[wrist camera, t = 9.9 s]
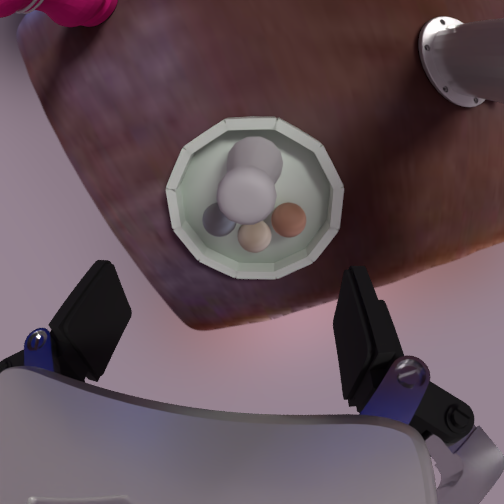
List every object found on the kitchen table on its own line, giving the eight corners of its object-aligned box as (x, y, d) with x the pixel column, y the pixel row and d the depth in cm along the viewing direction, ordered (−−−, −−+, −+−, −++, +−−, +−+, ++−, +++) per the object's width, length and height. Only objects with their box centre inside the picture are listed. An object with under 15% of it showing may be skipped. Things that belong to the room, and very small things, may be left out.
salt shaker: (282, 133, 28) (289, 160, 17) (282, 182, 31) (288, 238, 20) (228, 134, 28) (199, 163, 17) (231, 182, 31) (207, 238, 20)
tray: (341, 119, 27) (348, 121, 24) (328, 266, 38) (331, 279, 35) (166, 122, 28) (157, 126, 26) (187, 264, 39) (182, 277, 37)
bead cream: (271, 225, 35) (271, 213, 31) (271, 256, 34) (271, 247, 30) (240, 225, 35) (236, 213, 31) (238, 256, 34) (234, 247, 30)
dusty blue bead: (238, 209, 34) (228, 191, 30) (243, 237, 32) (232, 220, 29) (209, 218, 35) (195, 201, 31) (211, 246, 33) (197, 230, 29)
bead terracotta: (303, 218, 34) (313, 201, 30) (297, 247, 32) (308, 232, 28) (272, 209, 34) (278, 191, 30) (265, 237, 32) (271, 221, 28)
